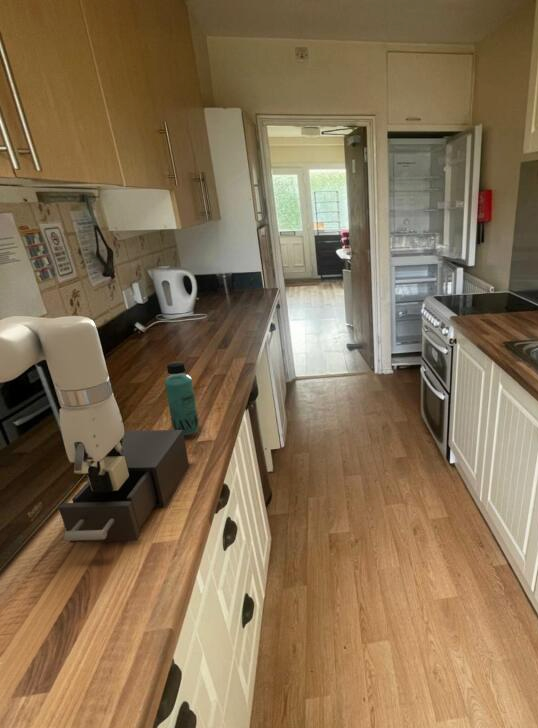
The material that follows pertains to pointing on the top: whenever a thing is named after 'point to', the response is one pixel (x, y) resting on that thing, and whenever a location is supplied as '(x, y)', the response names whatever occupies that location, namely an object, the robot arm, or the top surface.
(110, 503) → the drawer
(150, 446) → the drawer cabinet
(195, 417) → the beverage bottle
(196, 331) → the top surface
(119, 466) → the block
